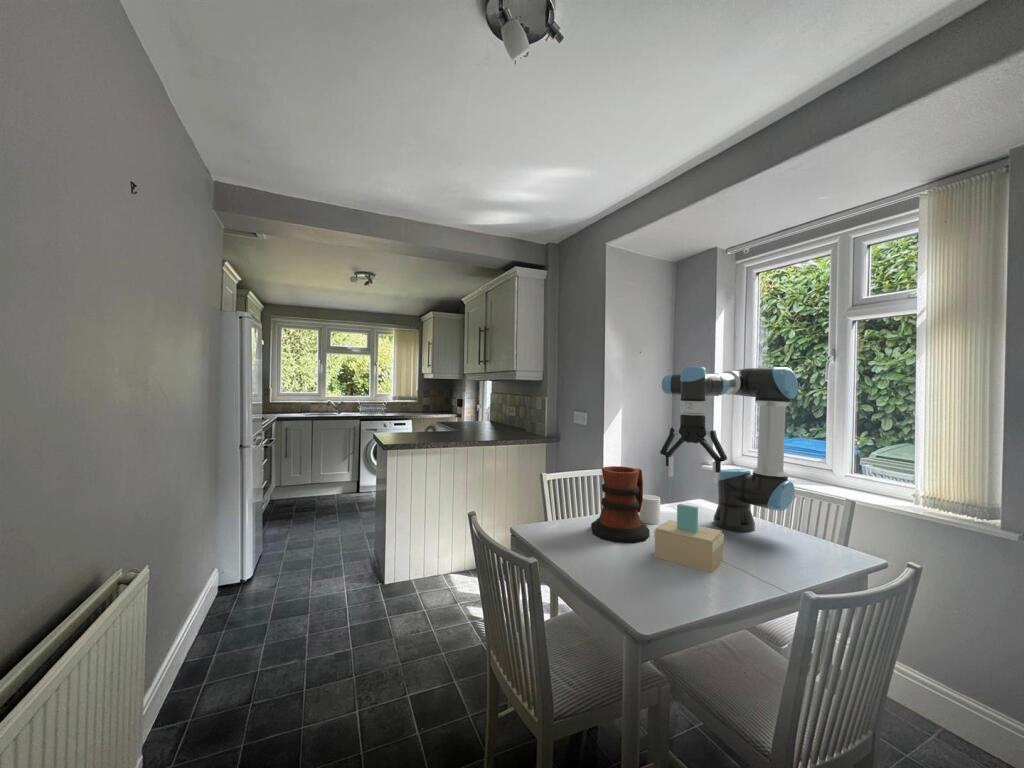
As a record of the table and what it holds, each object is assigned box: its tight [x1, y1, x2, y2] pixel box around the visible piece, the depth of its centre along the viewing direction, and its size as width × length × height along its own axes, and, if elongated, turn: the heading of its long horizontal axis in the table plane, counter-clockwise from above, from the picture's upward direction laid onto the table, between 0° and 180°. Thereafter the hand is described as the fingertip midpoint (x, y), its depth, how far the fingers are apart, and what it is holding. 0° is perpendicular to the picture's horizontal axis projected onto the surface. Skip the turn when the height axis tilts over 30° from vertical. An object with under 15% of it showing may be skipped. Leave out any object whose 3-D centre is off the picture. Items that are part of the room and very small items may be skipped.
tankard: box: [590, 465, 651, 544], centre depth 165 cm, size 22×25×25 cm
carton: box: [653, 519, 725, 574], centre depth 140 cm, size 12×18×10 cm, turn 50°
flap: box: [655, 503, 717, 543], centre depth 137 cm, size 6×17×9 cm, turn 50°
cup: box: [638, 494, 661, 525], centre depth 180 cm, size 8×12×10 cm
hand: (692, 479), depth 138 cm, fingers open, 13 cm apart
